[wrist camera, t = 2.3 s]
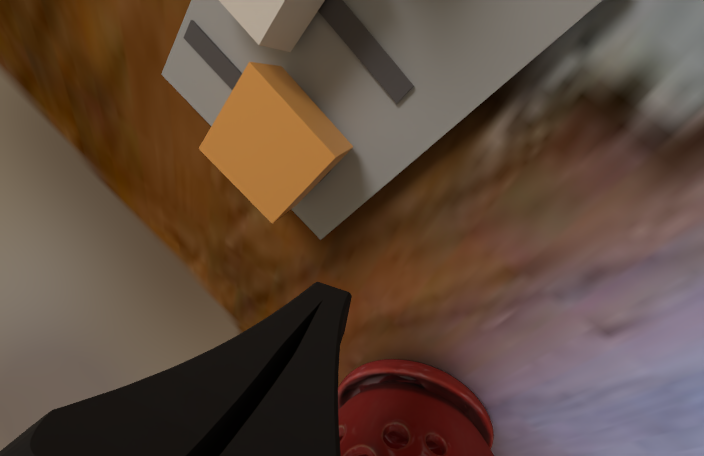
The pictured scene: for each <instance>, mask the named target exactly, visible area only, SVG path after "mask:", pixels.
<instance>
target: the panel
mask: <svg viewBox="0 0 704 456" xmlns="http://www.w3.org/2000/svg"><path fill="white" fill-rule="evenodd" d="M601 1H602V0H325V1H324V2H323V4H322V5H321V7H320V8H319V10H318V11H317V13H316V14H315V16H314V17H313V19H312V21H311V22H310V24H309V25H308V27H307V28H306V30H305V31H304V33H303V34H302V36H301V37H300V39H299V40H298V42H297V43H296V45H295V46H294V48H293V49H292V51H291V52H286V51H282V50H278V49H273V48H269V47H265V46H260V45H258V44H257V43H256V41H255V40H254V39H253V38H252V37H251V36H250V35H249V34H248V32H247V31H246V30H245V29H244V28H243V27H242V26H241V25H240V24H239V22H238V21H237V20H236V19H235V18H234V17H233V16H232V15H231V13H230V12H229V11H228V10H227V9H226V8H225V7H224V6H223V5H222V3H221V2H220V1H219V0H191V3H190V5H189V8H188V10H187V13H186V15H185V17H184V20H183V22H182V25H181V27H180V30H179V32H178V35H177V37H176V40H175V42H174V44H173V47H172V49H171V52H170V54H169V57H168V59H167V62H166V64H165V67H164V69H163V71H162V75H163V76H164V77H165V79H166V80H167V81H168V82H169V83H170V84H171V85H172V86H173V87H174V88H175V89H176V90H177V91H178V92H179V93H180V94H181V95H182V96H183V97H184V98H185V99H186V100H187V101H188V102H189V103H190V105H191V106H192V107H193V108H194V109H195V110H196V111H197V112H198V113H199V114H200V115H201V116H202V117H203V118H204V119H205V120H206V121H207V122H208V123H209V124H210V125H211V126H212V125H213V123H214V121H215V120H216V118H217V116H218V114H219V113H220V111H221V109H222V107H223V106H224V104H225V102H226V101H227V99H228V97H229V95H230V94H231V92H232V90H233V89H234V87H235V85H236V83H237V82H238V80H239V78H240V77H241V75H242V73H243V71H244V70H245V68H246V66H247V65H248V63H249V62H255V63H263V64H270V65H277V66H282V67H283V68H284V69H285V71H286V72H287V73H288V74H289V75H290V76H291V77H292V78H293V79H294V81H295V82H296V83H297V84H298V85H299V86H300V87H301V88H302V90H303V91H304V92H305V93H306V94H307V95H308V96H309V97H310V99H311V100H312V101H313V102H314V103H315V104H316V105H317V106H318V108H319V109H320V110H321V111H322V112H323V113H324V114H325V115H326V116H327V118H328V119H329V120H330V121H331V122H332V123H333V124H334V125H335V127H336V128H337V129H338V130H339V131H340V132H341V133H342V134H343V136H344V137H345V138H346V139H347V140H348V141H349V142H350V143H351V144H352V146H353V148H352V149H351V150H350V151H349V152H348V153H347V154H346V155H345V156H344V157H343V158H342V159H341V160H340V161H339V162H338V163H337V164H336V165H335V166H334V167H333V168H332V169H331V170H330V171H329V172H328V173H327V174H326V175H325V176H324V177H323V178H322V180H321V181H320V182H319V183H318V184H317V185H316V186H315V187H314V188H313V189H312V190H311V191H310V192H309V193H308V194H307V195H306V196H305V197H304V198H303V199H302V200H301V201H300V202H299V203H298V204H297V205H296V206H295V207H294V208H292V209H291V210H292V211H293V212H294V213H295V214H296V215H297V216H298V217H299V218H300V219H301V220H302V221H303V222H304V223H305V224H306V225H307V226H308V227H309V228H310V229H311V230H312V231H313V233H314V234H315V235H316V236H317V237H318V238H319V239H320V240H321V239H322V238H324V237H325V236H326V235H327V234H328V233H329V232H331V231H332V230H333V229H334V228H335V227H336V226H338V225H339V224H340V223H341V222H342V221H344V220H345V219H346V218H347V217H348V216H349V215H351V214H352V213H353V212H354V211H355V210H356V209H358V208H359V207H360V206H361V205H362V204H363V203H365V202H366V201H367V200H368V199H369V198H371V197H372V196H373V195H374V194H375V193H376V192H378V191H379V190H380V189H381V188H382V187H383V186H385V185H386V184H387V183H388V182H389V181H391V180H392V179H393V178H394V177H395V176H396V175H398V174H399V173H400V172H401V171H402V170H403V169H405V168H406V167H407V166H408V165H409V164H410V163H412V162H413V161H414V160H415V159H416V158H418V157H419V156H420V155H421V154H422V153H423V152H425V151H426V150H427V149H428V148H429V147H430V146H432V145H433V144H434V143H435V142H436V141H438V140H439V139H440V138H441V137H442V136H443V135H445V134H446V133H447V132H448V131H449V130H450V129H452V128H453V127H454V126H455V125H456V124H457V123H459V122H460V121H461V120H462V119H463V118H465V117H466V116H467V115H468V114H469V113H470V112H472V111H473V110H474V109H475V108H476V107H477V106H479V105H480V104H481V103H482V102H483V101H485V100H486V99H487V98H488V97H489V96H490V95H492V94H493V93H494V92H495V91H496V90H497V89H499V88H500V87H501V86H502V85H503V84H504V83H506V82H507V81H508V80H509V79H510V78H512V77H513V76H514V75H515V74H516V73H517V72H519V71H520V70H521V69H522V68H523V67H524V66H526V65H527V64H528V63H529V62H530V61H532V60H533V59H534V58H535V57H536V56H537V55H539V54H540V53H541V52H542V51H543V50H544V49H546V48H547V47H548V46H549V45H550V44H551V43H553V42H554V41H555V40H556V39H557V38H559V37H560V36H561V35H562V34H563V33H564V32H566V31H567V30H568V29H569V28H570V27H571V26H573V25H574V24H575V23H576V22H577V21H579V20H580V19H581V18H582V17H583V16H584V15H586V14H587V13H588V12H589V11H590V10H591V9H593V8H594V7H595V6H596V5H597V4H598V3H600V2H601Z"/></svg>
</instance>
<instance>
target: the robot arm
mask: <svg viewBox="0 0 704 456" xmlns="http://www.w3.org/2000/svg"><path fill="white" fill-rule="evenodd" d="M351 297H352V296H351V294H350V293H349V292H347V291H344V290H341V289H338V288H335V287H332V286H329V285H326V284H323V283H320V282H316V283H314V284H313V285H312V286H310V287H309V288H308V289H306V290H305V291H304V292H302V293H301V294H300V295H299V296H297V297H296V298H294V299H293V300H292V301H290V302H289V303H288V304H286V305H285V306H283V307H282V308H280V309H279V310H277V311H276V312H275V313H273V314H272V315H270V316H269V317H267V318H266V319H264V320H262V321H261V322H259V323H257V324H256V325H254V326H253V327H251V328H249V329H248V330H246V331H244V332H243V333H241V334H239V335H237V336H236V337H234V338H232V339H230V340H228V341H227V342H225V343H223V344H221V345H219V346H217V347H215V348H214V349H211V350H209V351H207V352H205V353H203V354H201V355H199V356H197V357H194V358H192V359H190V360H188V361H186V362H184V363H181V364H179V365H177V366H174V367H172V368H170V369H168V370H165V371H162V372H160V373H157V374H155V375H153V376H150V377H147V378H145V379H142V380H140V381H137V382H134V383H132V384H130V385H127V386H124V387H121V388H118V389H116V390H113V391H110V392H107V393H103V394H100V395H97V396H95V397H92V398H88V399H85V400H82V401H79V402H76V403H73V404H70V405H67V406H64V407H61V408H57V409H54V410H52V411H50V412H49V413H48V414H46V415H45V416H44V417H42V418H41V419H40V420H39V421H37V422H36V423H35V424H33V425H32V426H31V427H30V428H28V429H27V430H26V431H25V432H23V433H22V434H21V435H20V436H19V437H17V438H16V439H15V440H14V441H12V442H11V443H10V444H9V445H7V446H6V447H5V448H4V449H3V450H1V451H0V456H341V452H340V436H339V416H338V368H339V351H340V343H341V340H342V337H343V334H344V331H345V326H346V322H347V317H348V312H349V307H350V302H351Z"/></svg>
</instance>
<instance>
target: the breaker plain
mask: <svg viewBox="0 0 704 456" xmlns="http://www.w3.org/2000/svg"><path fill="white" fill-rule="evenodd" d="M219 1H220V2H221V3H222V5H223V6H224V7H225V8H226V9H227V10H228V11H229V12H230V13H231V15H232V16H233V17H234V18H235V19H236V20H237V21H238V22H239V24H240V25H241V26H242V27H243V28H244V29H245V30H246V31H247V32H248V34H249V35H250V36H251V37H252V38H253V39H254V40H255V41H256V43H257V44H258V45H260V46H265V47H269V48H273V49H278V50H282V51H286V52H291V51H292V49H293V48H294V46H295V45H296V43H297V42H298V40H299V39H300V37H301V36H302V34H303V33H304V31H305V30H306V28H307V27H308V25H309V24H310V22H311V21H312V19H313V17H314V16H315V14H316V13H317V11H318V10H319V8H320V7H321V5H322V4H323V2H324V1H325V0H219Z"/></svg>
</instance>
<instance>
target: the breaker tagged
mask: <svg viewBox="0 0 704 456" xmlns="http://www.w3.org/2000/svg"><path fill="white" fill-rule="evenodd" d="M352 148H353V146H352V144H351V143H350V142H349V141H348V140H347V139H346V138H345V137H344V136H343V134H342V133H341V132H340V131H339V130H338V129H337V128H336V127H335V125H334V124H333V123H332V122H331V121H330V120H329V119H328V118H327V116H326V115H325V114H324V113H323V112H322V111H321V110H320V109H319V108H318V106H317V105H316V104H315V103H314V102H313V101H312V100H311V99H310V97H309V96H308V95H307V94H306V93H305V92H304V91H303V90H302V88H301V87H300V86H299V85H298V84H297V83H296V82H295V81H294V79H293V78H292V77H291V76H290V75H289V74H288V73H287V72H286V71H285V69H284V68H283V67H282V66H277V65H270V64H263V63H255V62H249V63H248V65H247V66H246V68H245V70H244V71H243V73H242V75H241V77H240V78H239V80H238V82H237V83H236V85H235V87H234V89H233V90H232V92H231V94H230V95H229V97H228V99H227V101H226V102H225V104H224V106H223V107H222V109H221V111H220V113H219V114H218V116H217V118H216V120H215V121H214V123H213V125H212V126H211V128H210V130H209V132H208V133H207V135H206V137H205V138H204V140H203V142H202V144H201V145H200V147H199V149H200V151H201V152H202V153H203V154H204V155H205V156H206V157H207V158H208V159H209V160H210V161H211V162H212V163H213V164H214V165H215V166H216V167H217V168H218V169H219V170H220V171H221V172H222V173H223V174H224V175H225V176H226V177H227V178H228V179H229V180H230V181H231V182H232V183H233V184H234V185H235V186H236V187H237V188H238V189H239V190H240V191H241V192H242V193H243V194H244V195H245V196H246V197H247V198H248V199H249V200H250V202H251V203H252V204H253V205H254V206H255V207H256V208H257V209H258V210H259V211H260V212H261V213H262V214H263V215H264V216H265V217H266V218H267V219H268V220H269V221H270V222H271V223H274V222H275V221H276V220H278V219H279V218H280V217H282V216H283V215H284V214H286V213H287V212H288V211H290V210H291V209H292V208H294V207H295V206H296V205H297V204H298V203H299V202H300V201H301V200H302V199H303V198H304V197H305V196H306V195H307V194H308V193H309V192H310V191H311V190H312V189H313V188H314V187H315V186H316V185H317V184H318V183H319V182H320V181H321V180H322V178H323V177H324V176H325V175H326V174H327V173H328V172H329V171H330V170H331V169H332V168H333V167H334V166H335V165H336V164H337V163H338V162H339V161H340V160H341V159H342V158H343V157H344V156H345V155H346V154H347V153H348V152H349V151H350V150H351V149H352Z"/></svg>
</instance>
